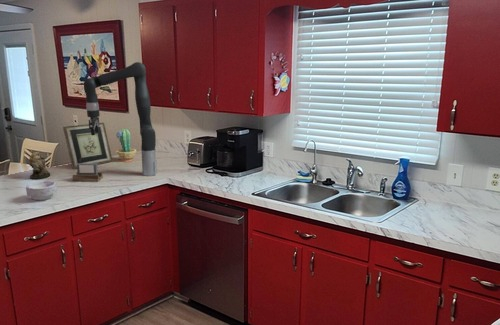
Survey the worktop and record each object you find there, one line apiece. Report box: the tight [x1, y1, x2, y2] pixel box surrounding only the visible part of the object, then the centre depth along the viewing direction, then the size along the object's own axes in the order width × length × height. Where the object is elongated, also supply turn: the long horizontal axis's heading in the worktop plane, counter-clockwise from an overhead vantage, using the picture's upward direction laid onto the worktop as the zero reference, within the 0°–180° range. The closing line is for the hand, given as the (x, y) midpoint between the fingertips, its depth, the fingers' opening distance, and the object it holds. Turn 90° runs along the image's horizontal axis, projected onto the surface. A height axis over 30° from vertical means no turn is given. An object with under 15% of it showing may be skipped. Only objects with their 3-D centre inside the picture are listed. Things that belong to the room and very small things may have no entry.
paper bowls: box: [25, 180, 58, 201], centre depth 229 cm, size 15×15×8 cm
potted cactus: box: [115, 128, 137, 163], centre depth 323 cm, size 15×16×25 cm
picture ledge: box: [72, 171, 104, 183], centre depth 268 cm, size 10×16×4 cm, turn 93°
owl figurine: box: [28, 151, 51, 180], centre depth 273 cm, size 18×12×17 cm, turn 17°
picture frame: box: [62, 122, 114, 169], centre depth 307 cm, size 33×10×30 cm, turn 143°
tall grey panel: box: [76, 163, 99, 175], centre depth 267 cm, size 3×12×9 cm, turn 92°
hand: (95, 134), depth 272 cm, fingers open, 8 cm apart
